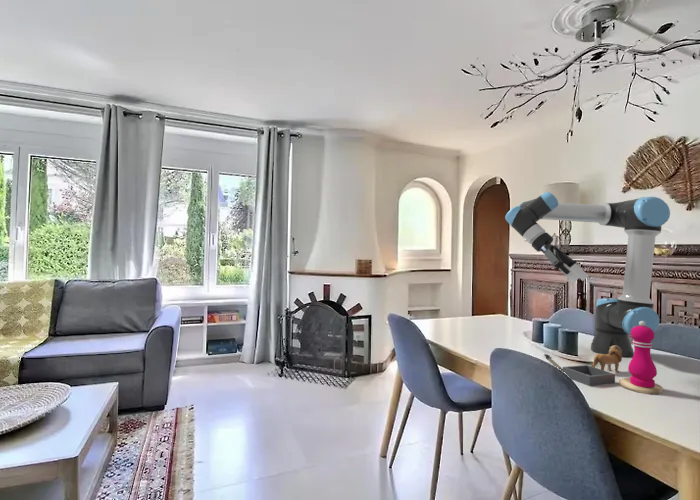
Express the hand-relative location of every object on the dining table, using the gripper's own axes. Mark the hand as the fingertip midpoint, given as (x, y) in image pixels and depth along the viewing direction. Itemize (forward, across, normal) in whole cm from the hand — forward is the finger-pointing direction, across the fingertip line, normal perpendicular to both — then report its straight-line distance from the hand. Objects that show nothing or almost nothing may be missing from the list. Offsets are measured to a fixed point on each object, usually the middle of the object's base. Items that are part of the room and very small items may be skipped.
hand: (581, 279), depth 143 cm
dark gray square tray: (+27, +11, -20) cm, 35 cm away
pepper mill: (+36, +8, -9) cm, 38 cm away
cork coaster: (+36, +8, -10) cm, 39 cm away
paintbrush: (+18, -1, -29) cm, 34 cm away
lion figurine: (+29, -4, -18) cm, 34 cm away
